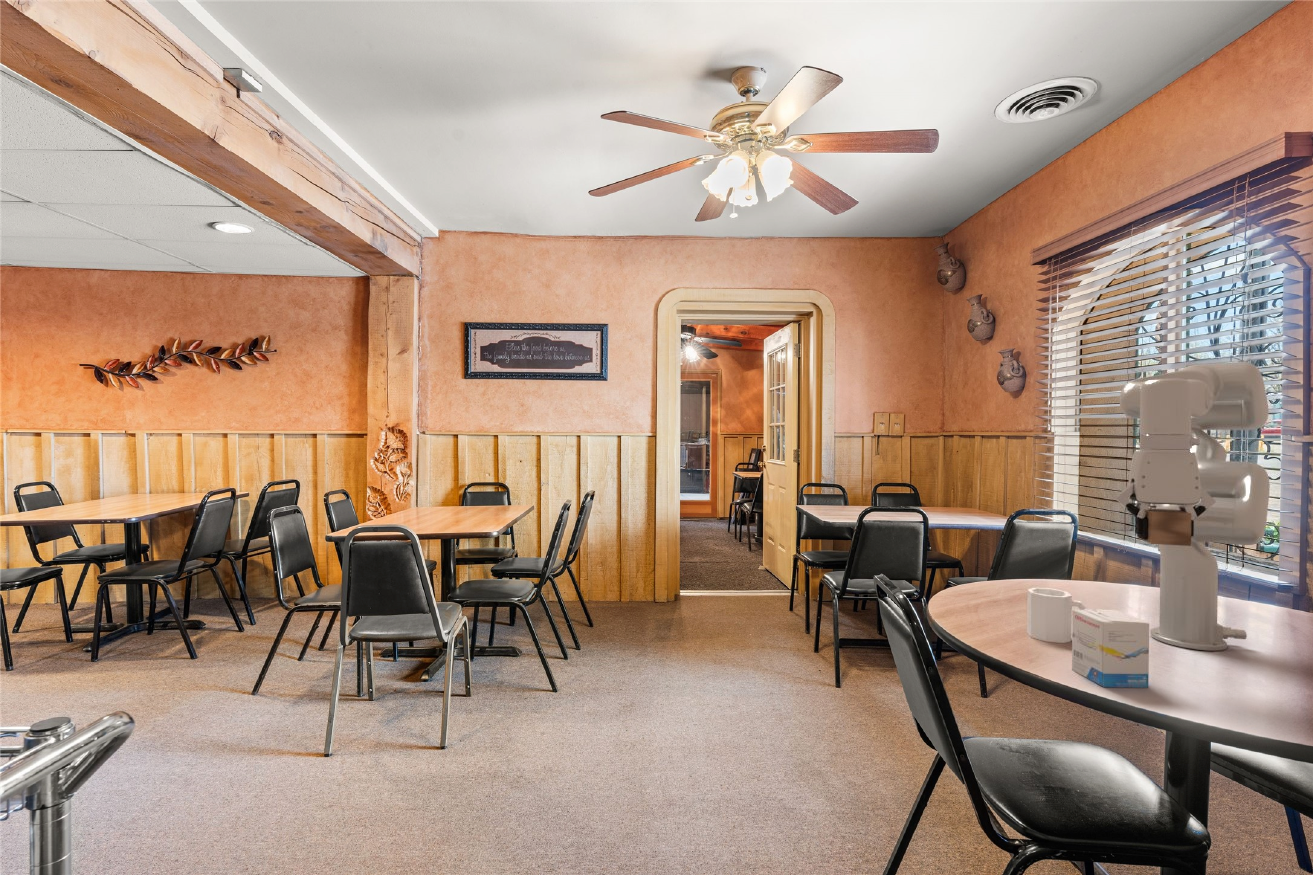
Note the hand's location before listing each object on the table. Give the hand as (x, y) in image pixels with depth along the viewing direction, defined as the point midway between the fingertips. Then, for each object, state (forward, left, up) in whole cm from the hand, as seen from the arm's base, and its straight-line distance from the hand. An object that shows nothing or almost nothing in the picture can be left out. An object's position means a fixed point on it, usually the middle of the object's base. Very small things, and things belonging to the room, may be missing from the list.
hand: (1163, 538), depth 118 cm
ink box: (+11, +8, -25) cm, 29 cm away
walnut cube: (0, 0, -1) cm, 1 cm away
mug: (+13, -15, -25) cm, 32 cm away
